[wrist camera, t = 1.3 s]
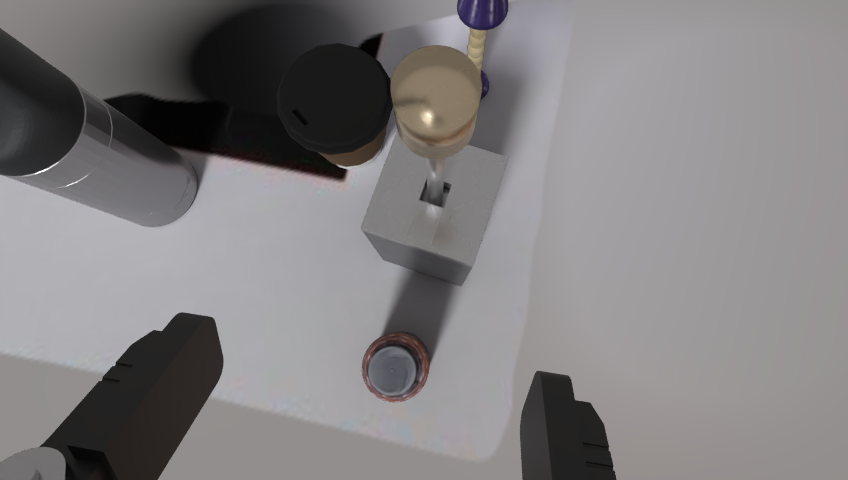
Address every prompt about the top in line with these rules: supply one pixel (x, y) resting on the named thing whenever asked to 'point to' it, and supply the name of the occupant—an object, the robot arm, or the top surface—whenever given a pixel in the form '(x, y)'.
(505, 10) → the toy lamp
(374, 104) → the coffee cup
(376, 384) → the supplement bottle
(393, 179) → the block with hole
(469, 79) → the tan rounded stemmed piece
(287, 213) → the top surface
